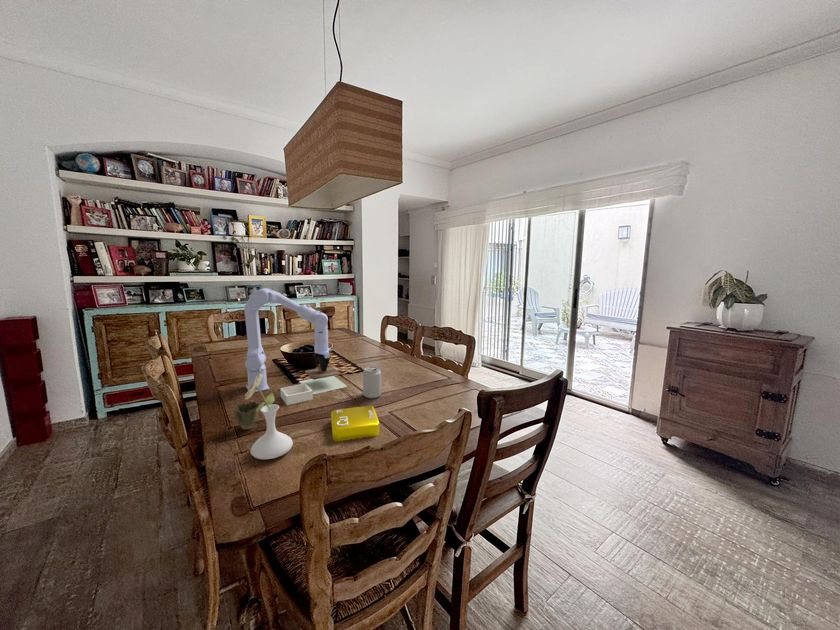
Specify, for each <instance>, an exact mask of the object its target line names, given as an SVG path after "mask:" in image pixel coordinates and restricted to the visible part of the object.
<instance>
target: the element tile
mask: <svg viewBox="0 0 840 630" xmlns="http://www.w3.org/2000/svg"><path fill="white" fill-rule="evenodd" d="M330 418H331V419H330V420H331V422H330V423H331V433H332V440H333V442H334V441H335V442H344V441H350V440H351V439H352V440H357V439H356V438H359V439H364V438H363V437H366V438H372V437H377V436H378V435H380V421H379V418H378V415H377V412H376V410H375V407H374V406H373V405H365V406H364V405H363V406H354V407H347V408H337V409H333V410H332V411H331V413H330ZM352 440H351V441H352Z"/></svg>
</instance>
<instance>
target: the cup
mask: <svg viewBox="0 0 840 630" xmlns="http://www.w3.org/2000/svg"><path fill="white" fill-rule="evenodd" d="M259 405H260V404H259V402H257V401H251V400H250V401H249V402H248V403H246V402H242V403H237V405H234V407H232V409H233V414H234V418H235V421H236V424H237V425H239V426H240V427H241V429H242V431H249V430H251V429H253V428H254V427H255V423H256V421H257V420H258V417H259V411H257V412H256V410H257V408H258V407H259Z"/></svg>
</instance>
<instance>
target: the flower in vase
mask: <svg viewBox="0 0 840 630" xmlns="http://www.w3.org/2000/svg"><path fill="white" fill-rule="evenodd" d="M262 377H263V375H261V374H259V376H258V378H257V377H256V378H255V381H254V384H253V385H250V386H249V389H250V390H249V391H248V390H247V391H246V393H245V394H244V400H246V401H247V400H250V398H251V397H252V396H253V394H254V393H256V392H255V391H256V390H257V389H258V390H259V391H258V392H259V393H260V394H261V397H262V398H263V400H264V401H263V402H262V403H260V404H259V407H258V408H257V410H256V412H257V411H258V412H259V411H260V412H261V413H262V414H263V416H264V419H265V424H266V429H265V430H266V431H265V433H264V434H263V435H262V436H260V437H259V438H258V439H256V440H255V442H254V443H253V444H252V446H251V448H250V455H251V456H253V458H255V459H258V460H271V459H276V458H279V457H282V456H283V455H285V454H287V453H288V452H289V451H290V450H291V448H292V447H293V444H294V442H293V439H292V438H291V436H289V435H287V434H285V433H283V432H280V431H278V430H277V429H276V415H277V412H278V410H279V409H280V406H279V405H278V404H275V403H274V402H275V400H276V399H275V396H274V394H273V392H270V393H269V394H268V395H267V396H266V397H265V396H264V393H263V391H261V390H260V389H259V384H260V382H261V380H262ZM273 403H274V404H273Z"/></svg>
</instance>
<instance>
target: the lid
mask: <svg viewBox="0 0 840 630" xmlns="http://www.w3.org/2000/svg"><path fill="white" fill-rule="evenodd" d="M304 372H305V373H306V375H308V376H309V377H310V379H313V380H315V379H320V378H325V377H330V376H335V377H336V376H338V375H339V376H340V375H341V373H340V371H338V370H336V368H334V367H332V366H331V365H329V366H327V370H326V371H323V372H322V371H321V367H320V364H318V366H317V368H312V369H307V370H306V369H305V370H304Z"/></svg>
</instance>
